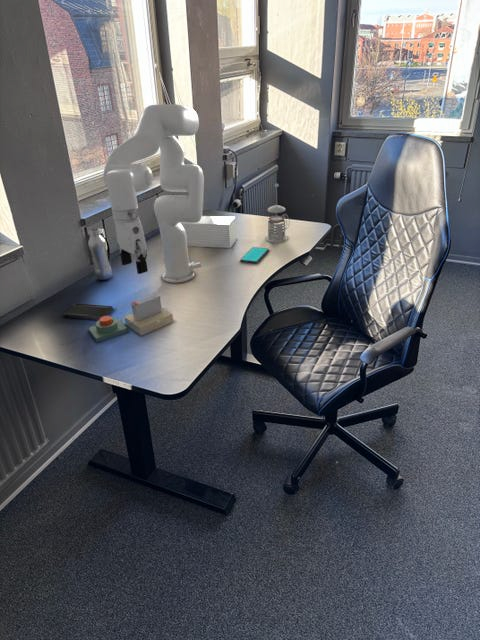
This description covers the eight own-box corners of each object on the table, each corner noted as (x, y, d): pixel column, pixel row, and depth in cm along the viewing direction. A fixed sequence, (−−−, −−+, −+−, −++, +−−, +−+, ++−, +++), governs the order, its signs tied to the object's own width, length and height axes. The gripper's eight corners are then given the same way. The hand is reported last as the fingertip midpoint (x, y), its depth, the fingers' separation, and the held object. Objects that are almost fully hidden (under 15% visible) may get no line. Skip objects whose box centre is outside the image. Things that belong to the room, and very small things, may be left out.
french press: (275, 233, 218) (275, 179, 206) (294, 238, 211) (295, 183, 199) (261, 239, 212) (260, 184, 200) (281, 245, 205) (281, 188, 193)
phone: (74, 303, 162) (113, 306, 159) (75, 306, 163) (114, 309, 159) (62, 314, 155) (103, 317, 152) (63, 317, 156) (103, 320, 153)
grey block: (157, 308, 152) (155, 293, 149) (162, 311, 150) (159, 295, 147) (133, 318, 147) (130, 302, 144) (137, 321, 145) (135, 305, 142)
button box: (118, 321, 152) (117, 312, 150) (127, 332, 146) (126, 322, 144) (88, 331, 147) (86, 322, 145) (96, 342, 141) (94, 332, 140)
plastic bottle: (109, 282, 179) (98, 232, 169) (93, 281, 180) (81, 232, 170) (116, 275, 185) (106, 227, 175) (100, 274, 186) (90, 226, 176)
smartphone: (268, 248, 200) (256, 261, 188) (268, 250, 200) (256, 263, 188) (252, 246, 202) (239, 259, 190) (253, 248, 203) (240, 261, 191)
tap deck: (155, 309, 158) (154, 301, 157) (177, 323, 149) (176, 314, 148) (121, 323, 151) (119, 314, 149) (142, 338, 142) (140, 329, 140)
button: (110, 319, 147) (109, 314, 146) (113, 323, 144) (112, 319, 144) (99, 322, 145) (97, 317, 145) (102, 327, 143) (101, 322, 142)
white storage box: (236, 239, 214) (235, 217, 208) (230, 248, 205) (228, 224, 199) (171, 236, 221) (168, 214, 216) (163, 244, 212) (160, 222, 207)
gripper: (152, 216, 131) (159, 272, 139) (123, 205, 143) (132, 257, 151) (128, 222, 127) (137, 279, 135) (100, 211, 139) (111, 264, 147)
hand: (134, 268), depth 143 cm, fingers open, 9 cm apart
